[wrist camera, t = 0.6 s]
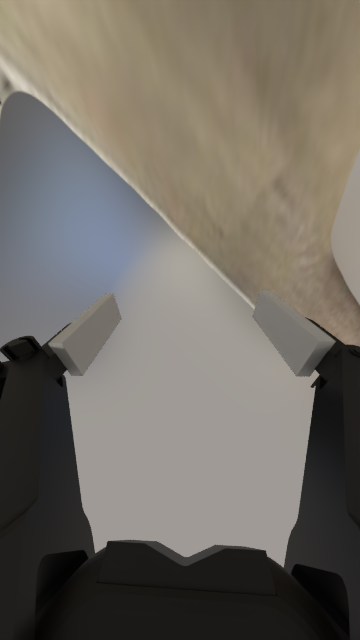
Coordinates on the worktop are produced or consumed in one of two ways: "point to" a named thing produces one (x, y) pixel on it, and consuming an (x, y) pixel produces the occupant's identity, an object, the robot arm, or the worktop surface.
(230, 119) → the worktop surface
